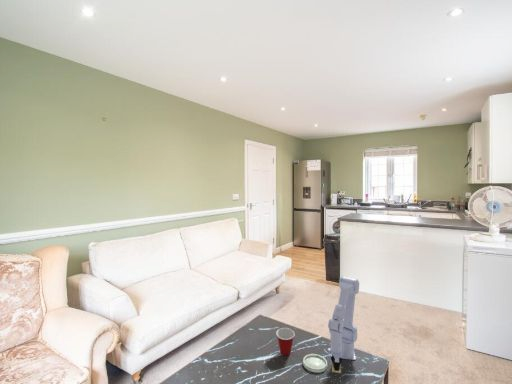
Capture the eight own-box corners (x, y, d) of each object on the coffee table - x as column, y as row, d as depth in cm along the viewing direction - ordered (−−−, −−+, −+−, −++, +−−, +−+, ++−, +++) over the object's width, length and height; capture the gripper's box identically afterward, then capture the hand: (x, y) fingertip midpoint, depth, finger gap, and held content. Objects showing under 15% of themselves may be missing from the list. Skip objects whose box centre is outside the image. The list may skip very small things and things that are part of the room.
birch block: (331, 366, 147) (331, 358, 147) (340, 367, 146) (340, 359, 146) (332, 372, 142) (331, 363, 142) (341, 373, 141) (340, 364, 141)
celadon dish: (303, 355, 156) (303, 352, 156) (327, 358, 153) (327, 355, 153) (302, 370, 144) (302, 367, 144) (327, 374, 141) (327, 370, 141)
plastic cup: (277, 359, 154) (277, 338, 153) (275, 347, 164) (275, 328, 164) (296, 358, 154) (296, 337, 154) (293, 347, 165) (293, 327, 165)
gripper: (327, 333, 152) (328, 357, 152) (328, 349, 138) (328, 375, 138) (341, 335, 150) (341, 359, 150) (343, 350, 136) (343, 377, 136)
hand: (336, 367), depth 144 cm, fingers closed on birch block, 4 cm apart
